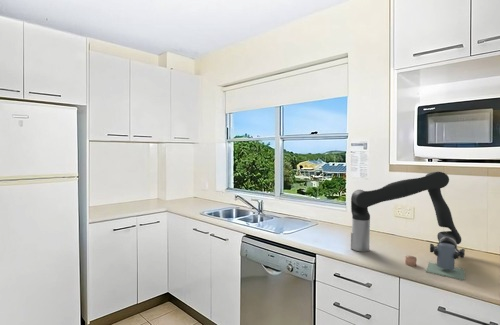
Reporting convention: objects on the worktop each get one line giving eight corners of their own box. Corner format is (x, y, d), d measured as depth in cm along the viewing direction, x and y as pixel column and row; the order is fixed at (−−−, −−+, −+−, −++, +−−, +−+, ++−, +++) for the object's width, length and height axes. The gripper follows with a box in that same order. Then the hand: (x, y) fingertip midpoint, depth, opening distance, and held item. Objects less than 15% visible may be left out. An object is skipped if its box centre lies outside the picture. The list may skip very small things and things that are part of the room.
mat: (426, 272, 131) (426, 270, 131) (428, 263, 142) (428, 262, 142) (464, 280, 123) (464, 279, 123) (464, 270, 134) (464, 269, 133)
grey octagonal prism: (436, 267, 132) (437, 245, 131) (437, 262, 137) (438, 241, 137) (454, 270, 128) (454, 248, 128) (454, 266, 133) (455, 244, 133)
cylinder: (404, 264, 140) (404, 257, 140) (406, 261, 144) (406, 254, 144) (415, 266, 138) (415, 259, 137) (416, 263, 141) (416, 256, 141)
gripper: (430, 235, 148) (427, 243, 134) (465, 240, 139) (465, 250, 126) (430, 250, 148) (426, 259, 135) (465, 256, 140) (465, 267, 126)
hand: (445, 255), depth 130 cm, fingers closed on grey octagonal prism, 6 cm apart
